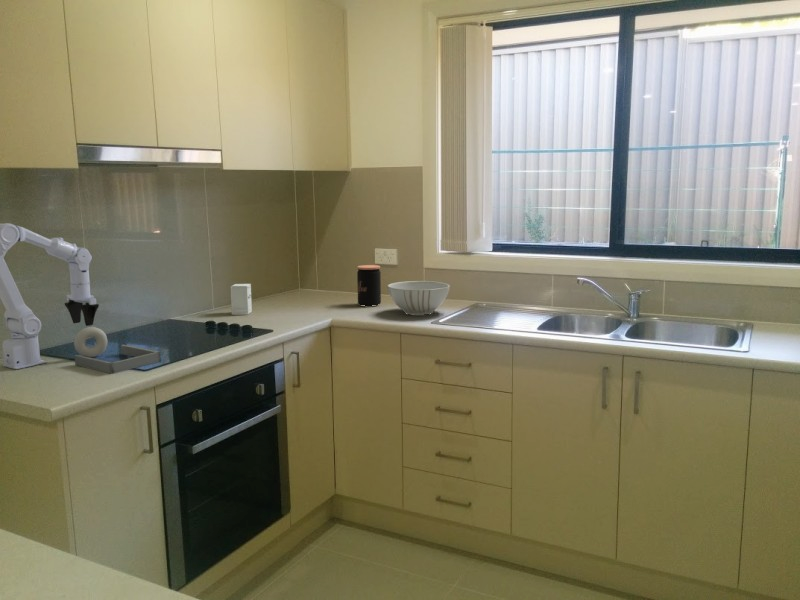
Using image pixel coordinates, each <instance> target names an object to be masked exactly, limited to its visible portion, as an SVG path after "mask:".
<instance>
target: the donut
mask: <svg viewBox="0 0 800 600" xmlns="http://www.w3.org/2000/svg"><path fill="white" fill-rule="evenodd" d="M90 338H94V339H95V341H96V343H95V344H94V346H88V345H86V344H87V340H88V339H90ZM108 343H109V341H108V337H107V334H106V332H104V331H103V330H102V329H101V328H99V327H96V326H86V327H85V328H84V327H83V328H82V329H81V330H79V332H77V334H75V337H74V341H73V346H74V350H75V351H76V352H77V353H78V355H81V356H85V357H89V358H95V357H99V356H100V355H102V354H103V353H104V352H105V350H106V349H107V347H108Z"/></svg>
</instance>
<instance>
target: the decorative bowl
mask: <svg viewBox="0 0 800 600" xmlns="http://www.w3.org/2000/svg"><path fill="white" fill-rule="evenodd" d="M450 287H451V285H450V284H448V283H445V282H442V281H441V282H440V281H432V280H430V281H429V280H413V281H412V280H411V281H398V282H392V283H390V284H387V290H388V293H389V297H391V300H392V301H393V302H394V304H395V305H396V306H397V307H398V308H399V309H401V310H403V313H404V312H405V313H407V314H406V315H408V314H414V315H413V316H425V315H424V314H429V315H431V314H430V313H432V314H433V313H434V311H435V310H436V309H438V308H439V307H440V306H441V305H442V304H443V303H444V302H445V300H446V298H447V297H448V294H449V292H450ZM405 313H404V314H405Z"/></svg>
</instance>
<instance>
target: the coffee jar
mask: <svg viewBox="0 0 800 600" xmlns="http://www.w3.org/2000/svg"><path fill="white" fill-rule="evenodd" d="M356 269H357V270H358V271H357V275H356V276H357V277H356V278H357V281H356V282H357V304H358V305H359V306H360V305H365V306H372V305H378V304H380V305H381V302H382V293H381V292H382V289H381V288H382V287H381V282H382V281H381V276H382V275H381V270H380V269H381V265H377V264H366V265H365V264H362V265H358V266H356Z"/></svg>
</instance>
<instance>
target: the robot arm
mask: <svg viewBox="0 0 800 600" xmlns="http://www.w3.org/2000/svg"><path fill="white" fill-rule="evenodd" d="M17 242H25V243H26V244H27V243H28V244H31V245H34V246H37V247H40V248H42V249H45V251H46V253H47V254H48V255H49V256H53V257H54V258H58V259H61V260H62V261H65V262H66V263H67V264H68V268H69V281H70V293H71V294H66V301H67V302H64V306H65V308H66V309H67V311H68V312H69V314H70V318H71V320H72V323H73V324H78V323H81V319H82V318H81V317H82V315H83V320H84V324H85V326H86V327H91V326H93V325H94V320H95V315H96V314H97V313H96V312H97V311H98V308H99V306H100V305H99V304H98V303H97V298H95V296H94V295H92V294H91V286H90V285H91V282H90V264H91V262H92V259H93V258H92V257H93V256H92V255H91V253H90V251H89V249H87V248H85V247H79V246H77V244H76V243H74V242H73V243H70V242H68V241H65V240H64V238H63V237H59V236H57V237H51V238H48V237H46V236H43V235H41V234H39V233H36V232H33V230H30V229H28V228H25V227H22V226H21V225H15V224H13V223H9V222H6V223H0V301H1V303H2V304H3V306H4V308H5V311H4V314H3V317H4V318H5V328H6V330H7V331H8V332H9V333H10V336H11V337H10V338H8V339H5V340H3V342H2V345H1V347H2V356H3V357H2V358H3V364H2V366H3V367H7V368H10V369H13V370H19V369H25V368H28V367H33V366H38V365H42V364H46V363H47V361H46V360H43V359H41V354H40V353H41V352H40V343H39V342H40V341H39V333H40V332H41V330H42V321H41V320H40V319H39V318H38V317H37V316H36V315H35V314H34V312H33V310H32V309H30V307H28V306H27V304H25V301H24V299H23V297H22V294H21V292H20V290H19V287H18V286H17V284H16V282H15V280H14V277H13V275H12V273H11V272H10V269H9V266H8V264H7V262H6V260H5V256H6V254H7V252H8V251H9V250H10V249H11V248H12V247H13V246H15V244H16V243H17Z"/></svg>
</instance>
